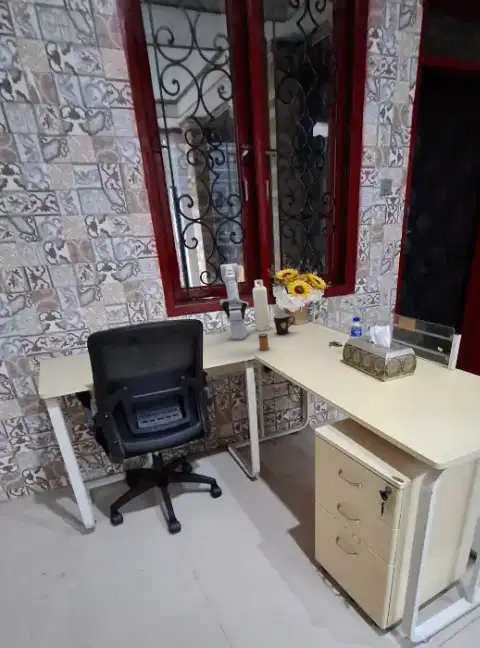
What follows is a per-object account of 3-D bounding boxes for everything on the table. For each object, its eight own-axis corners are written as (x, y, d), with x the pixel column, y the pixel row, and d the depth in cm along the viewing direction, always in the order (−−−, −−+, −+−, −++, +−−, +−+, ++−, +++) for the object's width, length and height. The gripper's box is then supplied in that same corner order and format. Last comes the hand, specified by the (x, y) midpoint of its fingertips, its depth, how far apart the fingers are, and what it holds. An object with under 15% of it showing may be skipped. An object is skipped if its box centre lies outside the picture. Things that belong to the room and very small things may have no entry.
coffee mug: (274, 335, 235) (272, 318, 231) (276, 331, 243) (274, 314, 238) (294, 334, 234) (293, 317, 229) (295, 330, 241) (294, 313, 236)
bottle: (270, 326, 253) (266, 278, 239) (268, 330, 246) (264, 281, 232) (257, 326, 254) (253, 279, 241) (255, 330, 247) (250, 282, 234)
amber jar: (261, 347, 220) (260, 333, 216) (269, 347, 218) (268, 333, 215) (258, 350, 216) (257, 335, 212) (267, 350, 214) (265, 336, 211)
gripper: (221, 288, 206) (223, 311, 202) (248, 291, 212) (252, 313, 207) (217, 297, 212) (220, 319, 208) (244, 299, 218) (248, 321, 213)
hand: (236, 317), depth 208 cm, fingers open, 7 cm apart
